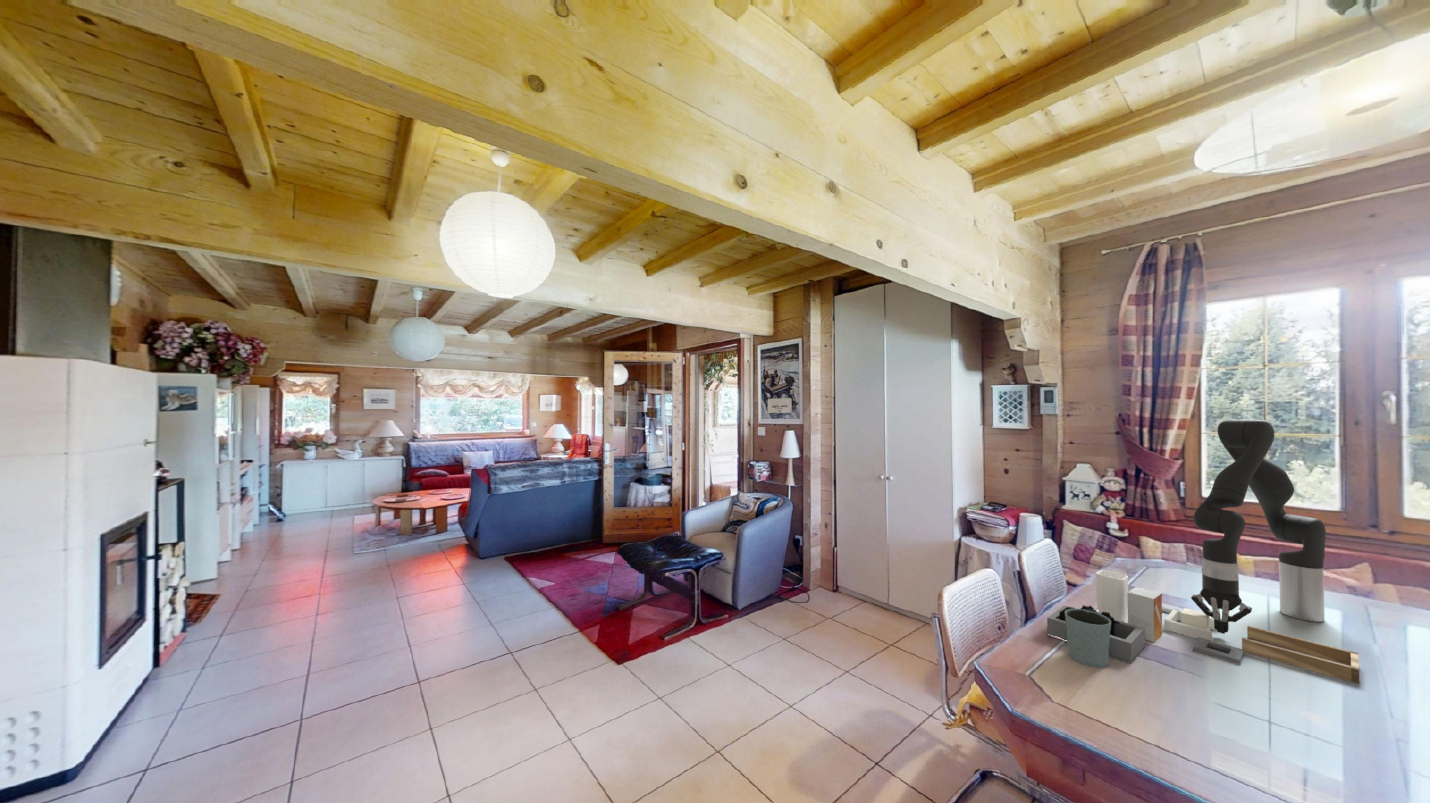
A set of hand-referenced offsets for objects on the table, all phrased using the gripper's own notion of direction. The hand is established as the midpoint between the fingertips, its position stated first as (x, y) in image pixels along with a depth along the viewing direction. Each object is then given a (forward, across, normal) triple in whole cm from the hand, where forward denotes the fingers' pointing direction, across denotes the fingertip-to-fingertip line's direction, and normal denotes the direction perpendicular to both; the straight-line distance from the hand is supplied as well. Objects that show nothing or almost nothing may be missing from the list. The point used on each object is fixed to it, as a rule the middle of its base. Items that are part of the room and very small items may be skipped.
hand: (1221, 632), depth 140 cm
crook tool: (+2, +9, -10) cm, 14 cm away
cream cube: (+2, +5, 0) cm, 6 cm away
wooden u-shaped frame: (+2, -14, 0) cm, 14 cm away
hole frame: (+2, -1, +13) cm, 13 cm away
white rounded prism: (+2, +23, +11) cm, 26 cm away
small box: (+2, +14, +16) cm, 21 cm away
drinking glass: (+2, +20, +47) cm, 51 cm away
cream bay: (+2, +6, 0) cm, 7 cm away
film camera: (+2, +23, +34) cm, 41 cm away
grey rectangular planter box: (+2, +22, +33) cm, 40 cm away
